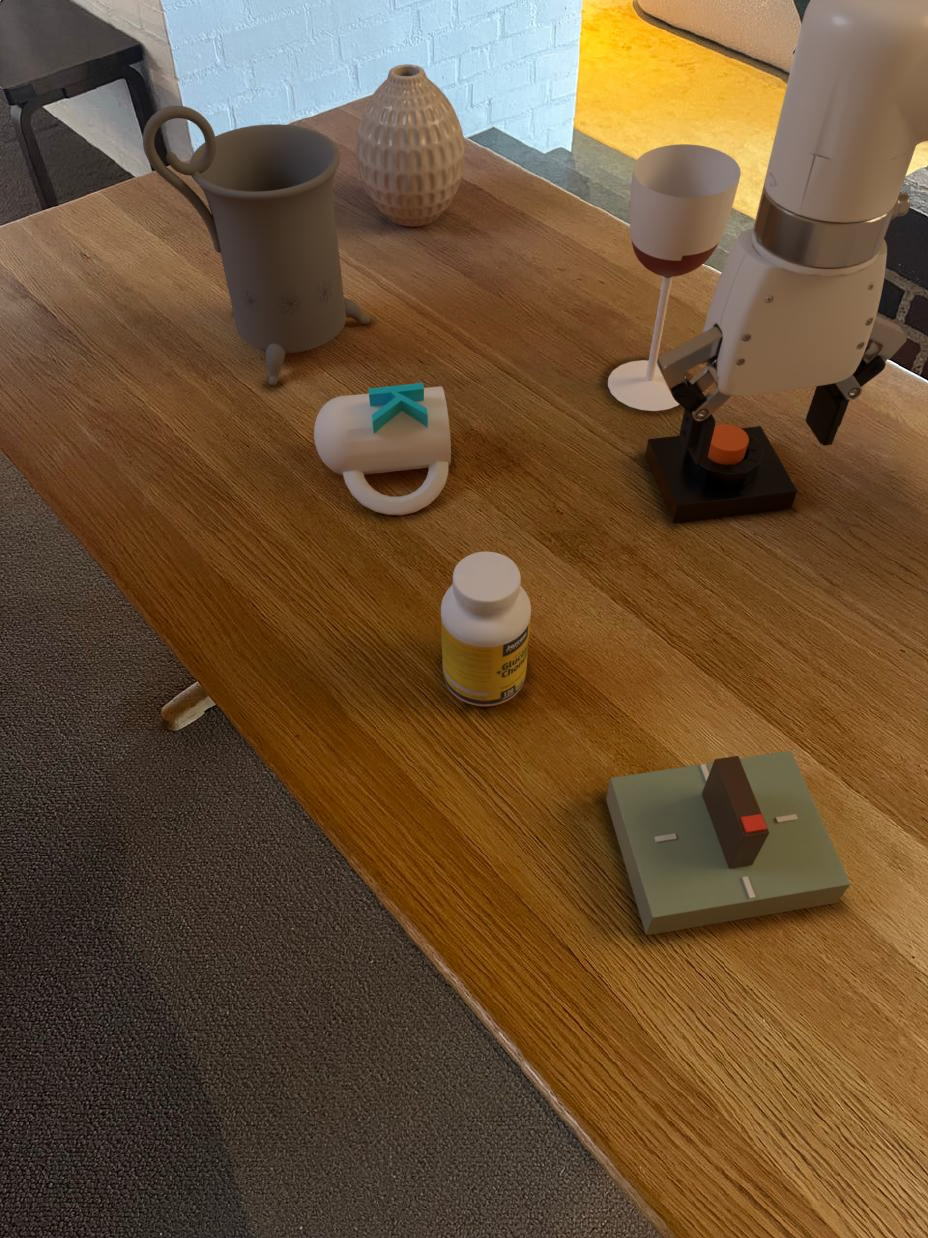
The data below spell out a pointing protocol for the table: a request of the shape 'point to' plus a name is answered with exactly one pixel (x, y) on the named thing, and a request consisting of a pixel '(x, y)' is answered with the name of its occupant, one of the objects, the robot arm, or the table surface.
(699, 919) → the panel
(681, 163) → the wineglass
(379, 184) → the vase
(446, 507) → the table surface
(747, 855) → the handle
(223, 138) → the mug
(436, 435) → the mug
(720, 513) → the button block
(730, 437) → the button
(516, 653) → the pill bottle
